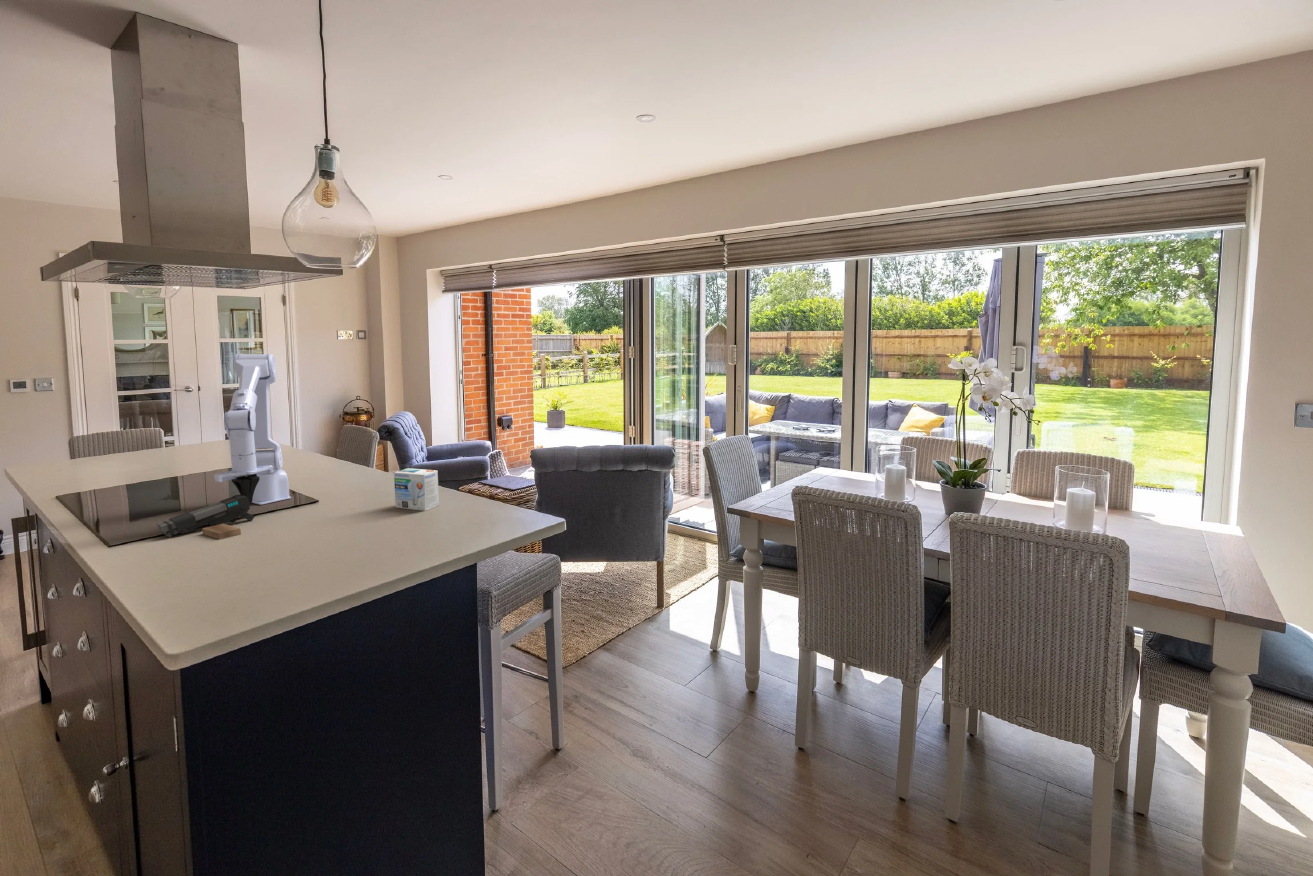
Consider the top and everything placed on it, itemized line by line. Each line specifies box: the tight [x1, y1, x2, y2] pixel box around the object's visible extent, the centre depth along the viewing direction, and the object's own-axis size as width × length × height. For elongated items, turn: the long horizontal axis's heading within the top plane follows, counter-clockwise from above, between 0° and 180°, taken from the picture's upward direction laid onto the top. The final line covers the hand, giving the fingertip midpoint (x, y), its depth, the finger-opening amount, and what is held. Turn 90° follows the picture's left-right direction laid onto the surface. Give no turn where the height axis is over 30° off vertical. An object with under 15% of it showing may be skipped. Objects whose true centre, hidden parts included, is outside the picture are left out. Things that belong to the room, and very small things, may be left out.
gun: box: [156, 494, 255, 538], centre depth 174 cm, size 4×20×10 cm, turn 142°
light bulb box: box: [393, 467, 440, 512], centre depth 196 cm, size 11×7×11 cm, turn 73°
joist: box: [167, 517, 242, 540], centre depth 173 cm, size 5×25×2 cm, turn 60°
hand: (247, 502), depth 183 cm, fingers closed
